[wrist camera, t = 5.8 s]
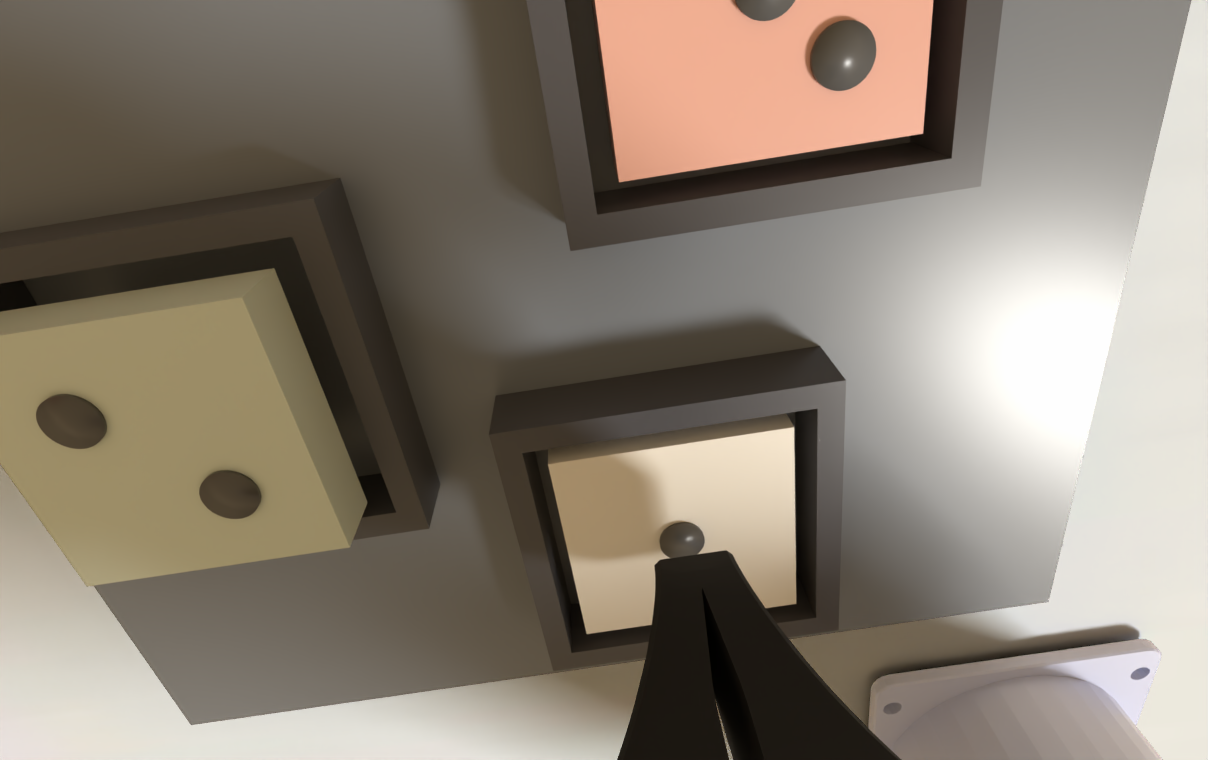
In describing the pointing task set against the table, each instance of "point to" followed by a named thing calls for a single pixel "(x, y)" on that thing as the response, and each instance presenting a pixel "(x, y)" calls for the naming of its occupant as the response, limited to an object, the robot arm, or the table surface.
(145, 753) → the table surface
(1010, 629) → the table surface
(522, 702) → the table surface
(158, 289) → the key two
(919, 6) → the key three
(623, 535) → the key one
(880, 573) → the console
